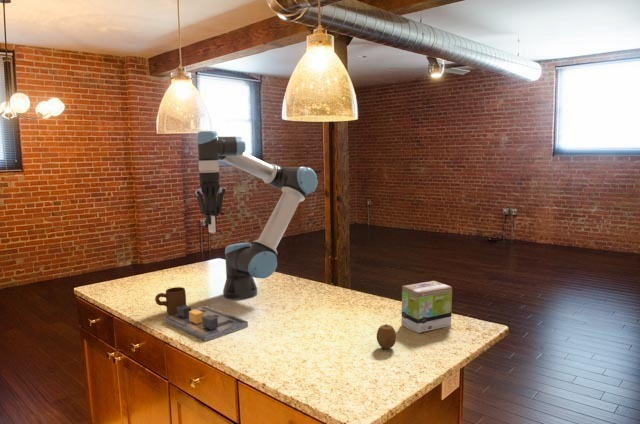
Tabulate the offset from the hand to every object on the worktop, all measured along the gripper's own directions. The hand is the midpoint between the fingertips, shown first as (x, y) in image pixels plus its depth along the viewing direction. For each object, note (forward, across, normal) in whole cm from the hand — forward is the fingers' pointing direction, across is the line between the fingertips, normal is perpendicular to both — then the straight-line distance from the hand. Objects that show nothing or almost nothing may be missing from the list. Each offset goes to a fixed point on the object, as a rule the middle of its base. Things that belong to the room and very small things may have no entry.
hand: (212, 232), depth 184 cm
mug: (+33, +13, -13) cm, 37 cm away
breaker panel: (+32, +10, +8) cm, 35 cm away
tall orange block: (+30, +14, +9) cm, 34 cm away
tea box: (+33, -42, +70) cm, 88 cm away
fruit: (+33, -16, +72) cm, 80 cm away
